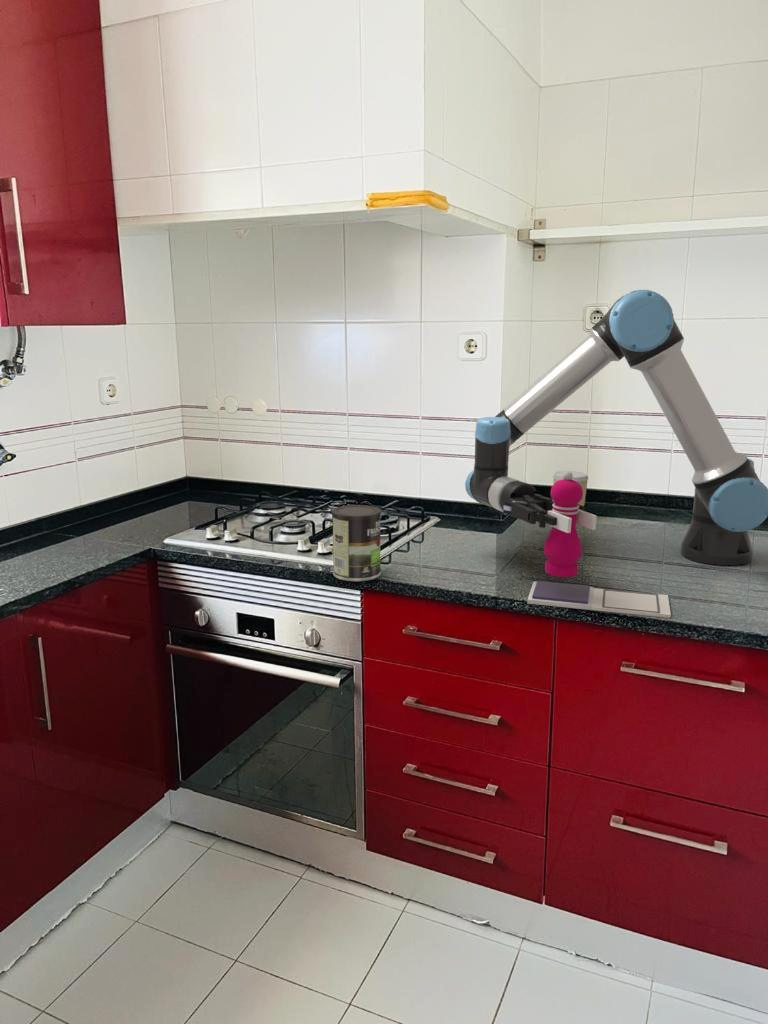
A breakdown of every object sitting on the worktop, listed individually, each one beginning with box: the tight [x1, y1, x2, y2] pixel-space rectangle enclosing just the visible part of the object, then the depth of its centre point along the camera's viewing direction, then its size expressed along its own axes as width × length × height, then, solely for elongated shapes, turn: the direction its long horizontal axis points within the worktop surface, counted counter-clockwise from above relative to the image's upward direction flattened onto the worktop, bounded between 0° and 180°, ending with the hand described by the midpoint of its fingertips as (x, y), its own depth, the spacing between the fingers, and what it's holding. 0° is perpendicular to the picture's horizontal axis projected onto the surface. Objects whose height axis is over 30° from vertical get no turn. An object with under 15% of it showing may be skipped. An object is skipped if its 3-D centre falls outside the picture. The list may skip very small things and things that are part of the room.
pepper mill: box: [543, 470, 583, 578], centre depth 151 cm, size 7×7×20 cm
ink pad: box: [527, 580, 595, 611], centre depth 154 cm, size 12×11×1 cm
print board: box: [591, 587, 672, 619], centre depth 151 cm, size 14×11×1 cm
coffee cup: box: [552, 470, 589, 507], centre depth 215 cm, size 9×9×12 cm
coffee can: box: [331, 504, 382, 582], centre depth 166 cm, size 10×10×14 cm
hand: (582, 524), depth 146 cm, fingers closed on pepper mill, 5 cm apart
